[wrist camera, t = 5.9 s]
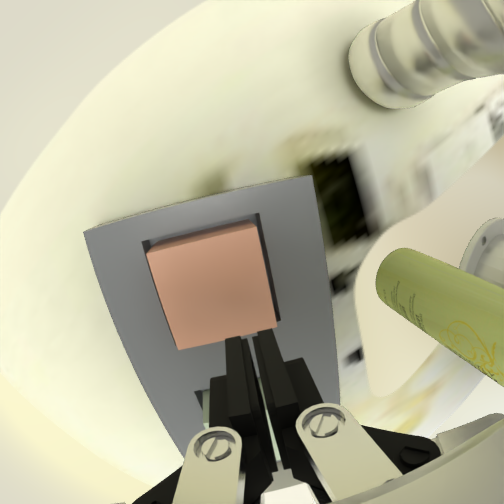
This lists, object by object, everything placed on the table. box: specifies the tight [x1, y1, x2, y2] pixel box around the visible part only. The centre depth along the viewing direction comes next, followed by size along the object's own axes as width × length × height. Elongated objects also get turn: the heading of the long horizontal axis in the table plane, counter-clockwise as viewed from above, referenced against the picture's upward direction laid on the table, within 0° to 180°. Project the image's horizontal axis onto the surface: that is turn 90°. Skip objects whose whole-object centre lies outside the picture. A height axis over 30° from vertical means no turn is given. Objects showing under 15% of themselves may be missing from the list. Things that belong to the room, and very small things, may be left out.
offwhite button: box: [264, 461, 314, 504], centre depth 22 cm, size 6×6×4 cm
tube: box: [376, 248, 504, 387], centre depth 13 cm, size 6×5×20 cm
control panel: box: [83, 175, 340, 462], centre depth 22 cm, size 14×32×2 cm, turn 12°
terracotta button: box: [146, 219, 277, 350], centre depth 18 cm, size 6×6×4 cm
